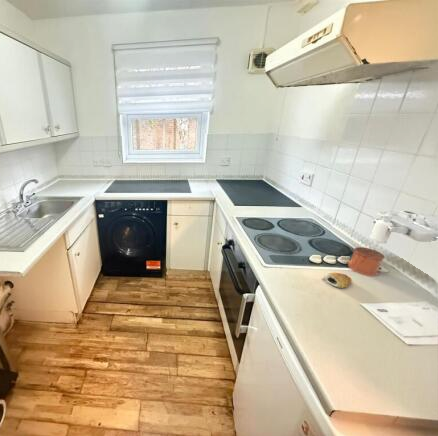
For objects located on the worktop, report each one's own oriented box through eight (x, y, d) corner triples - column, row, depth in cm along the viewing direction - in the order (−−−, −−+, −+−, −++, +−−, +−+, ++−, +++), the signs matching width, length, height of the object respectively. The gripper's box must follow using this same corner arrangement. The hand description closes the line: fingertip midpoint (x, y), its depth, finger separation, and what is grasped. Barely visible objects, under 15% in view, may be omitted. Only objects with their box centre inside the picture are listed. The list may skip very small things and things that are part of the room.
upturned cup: (372, 265, 104) (379, 250, 101) (381, 278, 96) (389, 261, 93) (345, 260, 108) (351, 245, 105) (351, 272, 100) (357, 255, 97)
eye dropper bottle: (383, 238, 95) (395, 210, 90) (387, 244, 90) (399, 215, 86) (369, 236, 97) (380, 208, 92) (372, 241, 93) (383, 213, 88)
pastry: (338, 275, 98) (341, 267, 96) (355, 285, 92) (359, 277, 90) (321, 280, 95) (324, 272, 93) (339, 290, 89) (342, 282, 88)
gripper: (446, 246, 82) (402, 245, 83) (394, 223, 100) (359, 222, 102) (455, 230, 79) (410, 229, 81) (400, 209, 98) (365, 208, 99)
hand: (381, 225), depth 91 cm, fingers closed on eye dropper bottle, 5 cm apart
